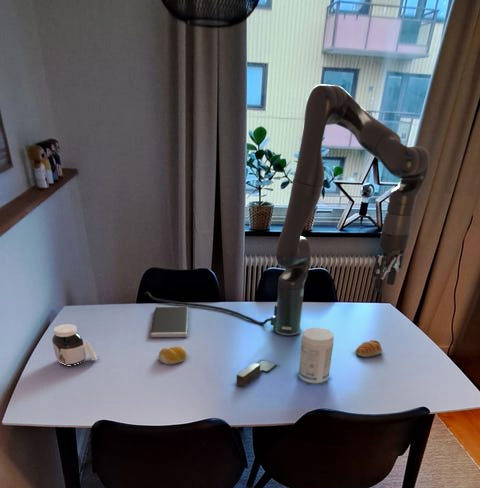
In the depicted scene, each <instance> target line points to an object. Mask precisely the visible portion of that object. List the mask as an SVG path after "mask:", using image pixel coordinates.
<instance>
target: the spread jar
mask: <svg viewBox="0 0 480 488" xmlns="http://www.w3.org/2000/svg"><path fill="white" fill-rule="evenodd" d="M53 333H54V335H53V336H52V340H51V341H52V346H53V351H54V355H55V358H56V360H57V359H58V360H59V361H60V362H62V363H64V364H66V365H64V364H62V363H60V362H59V361H58V360H57V361H58V363H59V364H60V365H61V366H63V367H66V368H73V367H77V366H80V365H81V364H83V363H84V362H85V361H86V358H87V354H88V356H89V358H90V359H91V361H93V360H95V361H98V358H97V357H98V356H97V355H96V353H95V351H94V349H93V348H92V346H91V344H90V343H89V341H88V340H85V341H84V340H83V338H82V336H81V335H80V334H79V333H78V328H77V326H76V325H74V324H71V323H66V324H64V323H63V324H59V325H56V326H55V327H54V328H53ZM86 352H87V354H86ZM94 354H95V355H94ZM84 360H85V361H84ZM82 361H83V362H82ZM95 361H94V362H95ZM80 362H81V363H80ZM77 363H79V364H77ZM74 364H76V365H74ZM67 365H71V366H67Z"/></svg>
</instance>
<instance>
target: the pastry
mask: <svg viewBox="0 0 480 488" xmlns="http://www.w3.org/2000/svg"><path fill="white" fill-rule="evenodd" d="M382 352H383V348H382V345H381V342H380V341H378V340H376V339H370V340H367V341H364V342H362V343H361V344H359V346H358V347H357V348H356V349H355V355H358V356H360V357H364V358H368V357H373V356H374V357H375V356H377V355H380V354H381V353H382Z"/></svg>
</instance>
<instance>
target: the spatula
mask: <svg viewBox="0 0 480 488" xmlns="http://www.w3.org/2000/svg"><path fill="white" fill-rule="evenodd" d="M276 366H277V364H276V363H274V362H270V361H266V360H264V359H263V360H261V361H260V362H258V363H257V362H253V363H251V364H249V366H247V367H245V368H244V369H243V370H242V371H240V372H239V373H237V374H236V386H239V387H242V388H243V387H245V386H246V385H247V384H249V383H250V382H252V381H253V380H254V379H255V378H257V377H258V376H260V374H261V373H262V372H263V373H266V374H267V373H270V371H271V370H273V369H274V368H275V367H276Z"/></svg>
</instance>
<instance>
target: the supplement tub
mask: <svg viewBox="0 0 480 488" xmlns="http://www.w3.org/2000/svg"><path fill="white" fill-rule="evenodd" d="M333 348H334V333H333V332H332V331H331V330H329V329H326V328H323V327H310V328H307V329H305V330H303V331H302V335H301V343H300V353H299V366H298V377H299V378H300V379H301V380H302V381H304V382H306V383H309V384H321V383H324V382H326V381H327V380H328V379H329V378H330V372H331V371H330V370H331V364H332V355H333Z"/></svg>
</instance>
